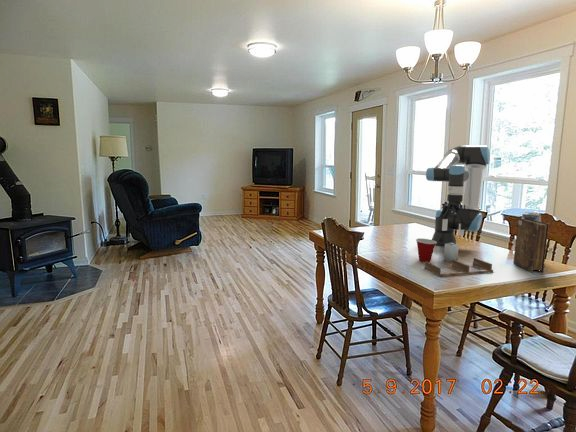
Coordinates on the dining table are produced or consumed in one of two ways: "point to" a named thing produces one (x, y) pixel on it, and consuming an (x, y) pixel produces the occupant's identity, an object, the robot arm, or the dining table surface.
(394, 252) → the dining table surface
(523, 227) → the book
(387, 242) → the dining table surface
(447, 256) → the stoneware jar
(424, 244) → the plastic cup
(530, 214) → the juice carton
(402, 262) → the dining table surface
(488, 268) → the comb rack
